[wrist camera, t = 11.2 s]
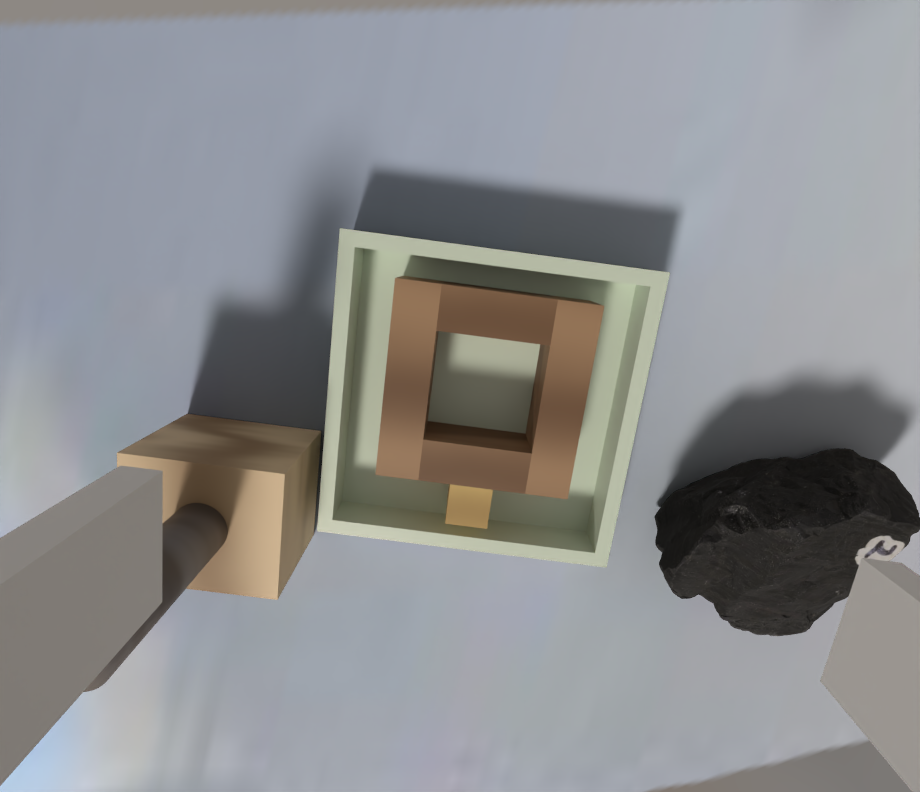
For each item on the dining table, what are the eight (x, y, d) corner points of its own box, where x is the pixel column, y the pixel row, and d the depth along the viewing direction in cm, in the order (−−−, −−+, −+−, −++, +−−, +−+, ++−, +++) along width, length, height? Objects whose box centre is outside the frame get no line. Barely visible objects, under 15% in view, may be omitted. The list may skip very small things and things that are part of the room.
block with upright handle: (185, 518, 31) (-40, 727, 17) (187, 413, 29) (-58, 550, 16) (313, 534, 31) (190, 754, 17) (321, 430, 29) (193, 581, 16)
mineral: (747, 380, 28) (816, 412, 23) (883, 468, 29) (981, 520, 24) (628, 534, 31) (664, 598, 25) (758, 611, 32) (821, 689, 26)
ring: (403, 275, 27) (394, 277, 24) (589, 300, 27) (604, 305, 24) (381, 488, 29) (371, 514, 26) (551, 510, 30) (560, 538, 27)
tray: (330, 506, 30) (316, 531, 28) (352, 231, 27) (339, 228, 24) (594, 539, 31) (606, 567, 28) (649, 270, 27) (670, 272, 24)
